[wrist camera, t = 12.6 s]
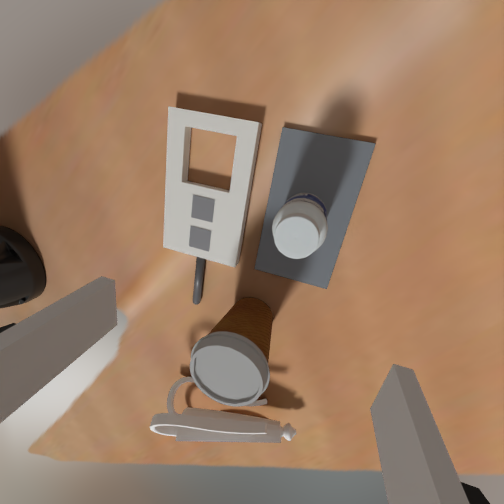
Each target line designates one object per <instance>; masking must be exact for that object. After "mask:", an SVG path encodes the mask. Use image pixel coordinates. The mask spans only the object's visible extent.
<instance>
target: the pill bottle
mask: <svg viewBox="0 0 504 504" xmlns="http://www.w3.org/2000/svg"><path fill="white" fill-rule="evenodd" d="M327 230H328V225H327V211H326V207H325V205H324V203H323V202H322V200H321V199H320V198H318V197H317V196H315V195H313V194H310V193H299V194H296V195H294V196H292V197H291V198H290V199H288V200H287V201H286V202H285V204H284V205H283V206H282V208H281V209H280V210H279V211H278V213H277V214H276V216H275V218H274V221H273V225H272V232H273V236H274V241H275V245H276V247H277V248H278V250H279V251H280V252H281V253H282V254H283V255H285V256H287V257H289V258H293V259H301V258H305V257H307V256H309V255H310V254H312V253H313V252H314V251H316V250H317V249H318V248H319V247H320V246H321V245H322V244H323V242H324V240H325V238H326V235H327Z"/></svg>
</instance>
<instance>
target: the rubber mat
mask: <svg viewBox="0 0 504 504" xmlns="http://www.w3.org/2000/svg"><path fill="white" fill-rule="evenodd" d="M374 147H375V143H370V142H364V141H358V140H353V139H347V138H341V137H336V136H330V135H324V134H319V133H313V132H307V131H301V130H296V129H290V128H284V127H283V128H282V133H281V138H280V143H279V148H278V153H277V158H276V163H275V168H274V173H273V178H272V184H271V189H270V194H269V199H268V204H267V209H266V214H265V219H264V224H263V229H262V234H261V239H260V244H259V249H258V254H257V259H256V264H255V269H256V270H260V271H264V272H267V273H271V274H274V275H278V276H282V277H285V278H289V279H292V280H296V281H300V282H303V283H307V284H310V285H314V286H317V287H321V288H325V289H327V287H328V284H329V281H330V278H331V275H332V272H333V269H334V266H335V263H336V260H337V257H338V254H339V251H340V248H341V245H342V242H343V239H344V236H345V233H346V230H347V227H348V224H349V221H350V218H351V215H352V212H353V209H354V206H355V203H356V200H357V197H358V194H359V191H360V188H361V186H362V183H363V180H364V177H365V174H366V171H367V168H368V165H369V162H370V159H371V156H372V153H373V150H374ZM299 193H310V194H313V195H315V196H317V197H318V198H320V199H321V200H322V202H323V203H324V205H325V207H326V211H327V225H328V230H327V235H326V238H325V240H324V242H323V244H322V245H321V246H320V247H319V248H318V249H317V250H316V251H314V252H313V253H312V254H310V255H309V256H307V257H305V258H301V259H293V258H289V257H287V256H285V255H283V254H282V253H281V252H280V251H279V250H278V248H277V247H276V245H275V241H274V236H273V232H272V225H273V221H274V218H275V216H276V214H277V213H278V211H279V210H280V209H281V208H282V206H283V205H284V204H285V202H286V201H287V200H288V199H290V198H291V197H292V196H294V195H296V194H299Z"/></svg>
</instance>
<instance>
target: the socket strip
mask: <svg viewBox="0 0 504 504" xmlns="http://www.w3.org/2000/svg"><path fill="white" fill-rule="evenodd" d="M191 127H192V128H197V129H202V130H208V131H213V132H218V133H224V134H229V135H234V136H237V140H236V148H235V155H234V163H233V170H232V177H231V185H230V190H226V189H221V188H217V187H213V186H208V185H204V184H199V183H195V182H191V181H188V168H189V154H190V140H191ZM261 128H262V124H261V123H259V122H254V121H248V120H243V119H237V118H231V117H226V116H220V115H214V114H209V113H203V112H197V111H192V110H186V109H180V108H174V107H169V106H168V133H167V160H166V187H165V214H164V241H163V247H164V248H168V249H171V250H175V251H179V252H182V253H186V254H189V255H193V256H196V257H197V260H196V271H195V281H194V292H193V303H194V304H199V303H200V301H201V292H202V283H203V274H204V265H205V259H207V260H211V261H214V262H218V263H221V264H225V265H228V266H232V267H236V266H237V264H238V263H239V258H240V252H241V246H242V240H243V234H244V228H245V222H246V216H247V210H248V205H249V199H250V193H251V187H252V181H253V175H254V169H255V163H256V157H257V151H258V145H259V139H260V133H261Z"/></svg>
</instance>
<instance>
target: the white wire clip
mask: <svg viewBox="0 0 504 504" xmlns="http://www.w3.org/2000/svg"><path fill="white" fill-rule="evenodd" d="M185 382H194V380H193V378H192V377H183V378H181V379H179V380H178V381H176V382H175V383H174V384H173V386H172V387H171V389H170V391H169V394H168V398H167V409H168V412H169V413H161V414H156V415H154V416H153V418H152V422H151V425H150V429H151V430H152V431H153V432H156V433H158V434H162V435H168V436H176V441H205V442H274V443H281V437H282V436H284V437H285V439H287V440H288V441H291V439H292V437H293V436H294V435H296V429H294V428H293V427H292V426H291V425H290V423H287V424H286V425H285V426H284V427H281V426H280V421H275V420H271V419H266V418H261V417H255V416H250V415H244V414H238V413H231V412H224V411H217V410H209V409H200V408H191V407H187V408H185V409H184V411H183V413H182V414H177V413H176V411H175V409H174V405H173V402H174V396H175V393H176V391H177V389H178V388H179V386H180V385H182V384H183V383H185ZM194 383H195V382H194ZM264 404H267V399H262V400H258V401H254V402H253V403H251V404H249V405H245V406H260V405H264Z"/></svg>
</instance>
